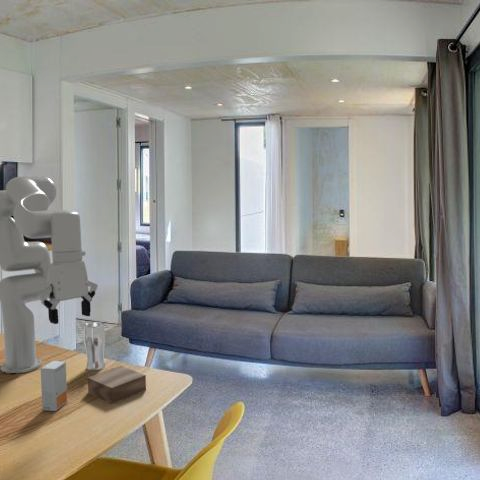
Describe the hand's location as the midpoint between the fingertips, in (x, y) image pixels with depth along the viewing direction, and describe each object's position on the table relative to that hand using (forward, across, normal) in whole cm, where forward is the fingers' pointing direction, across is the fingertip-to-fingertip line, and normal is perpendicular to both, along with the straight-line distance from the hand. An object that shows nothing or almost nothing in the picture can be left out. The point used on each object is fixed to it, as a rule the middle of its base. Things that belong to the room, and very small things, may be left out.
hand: (70, 319), depth 132 cm
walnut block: (+25, -14, +1) cm, 29 cm away
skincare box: (+25, +3, -4) cm, 26 cm away
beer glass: (+25, -21, -21) cm, 39 cm away
